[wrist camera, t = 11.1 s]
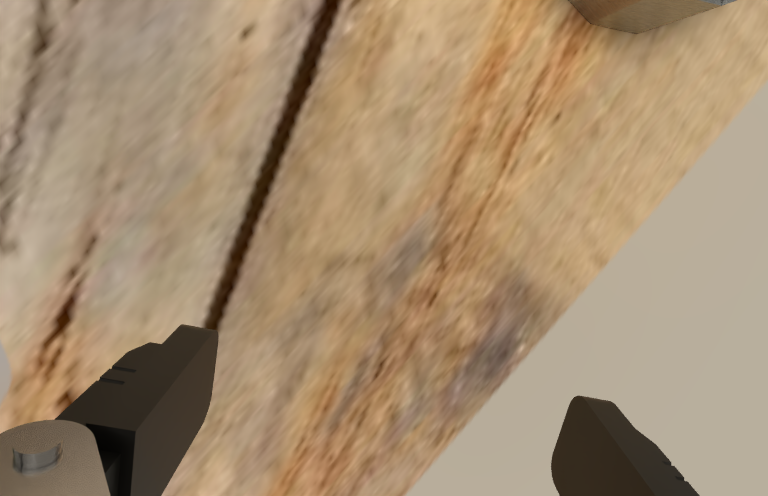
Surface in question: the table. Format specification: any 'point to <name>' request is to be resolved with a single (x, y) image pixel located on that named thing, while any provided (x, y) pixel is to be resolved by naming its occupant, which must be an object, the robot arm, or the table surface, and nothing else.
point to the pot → (641, 12)
